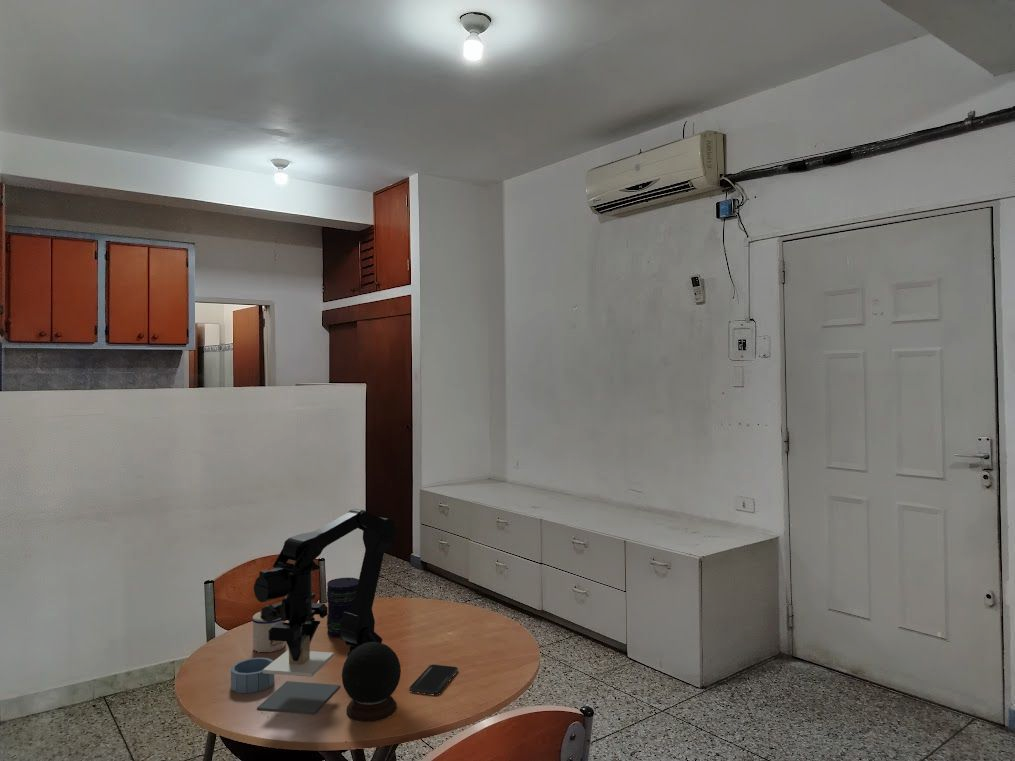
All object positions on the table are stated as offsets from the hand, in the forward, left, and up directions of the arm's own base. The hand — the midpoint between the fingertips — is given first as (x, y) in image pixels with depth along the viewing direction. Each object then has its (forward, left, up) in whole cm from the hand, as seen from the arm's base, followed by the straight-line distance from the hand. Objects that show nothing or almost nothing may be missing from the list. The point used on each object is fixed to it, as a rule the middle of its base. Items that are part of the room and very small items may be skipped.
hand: (299, 657), depth 161 cm
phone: (-29, -14, -10) cm, 34 cm away
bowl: (+15, -5, -10) cm, 18 cm away
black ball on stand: (-19, +3, -10) cm, 22 cm away
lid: (0, 0, -2) cm, 2 cm away
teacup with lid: (+23, -29, -10) cm, 38 cm away
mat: (0, 0, -10) cm, 10 cm away
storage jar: (+7, -42, -10) cm, 44 cm away
